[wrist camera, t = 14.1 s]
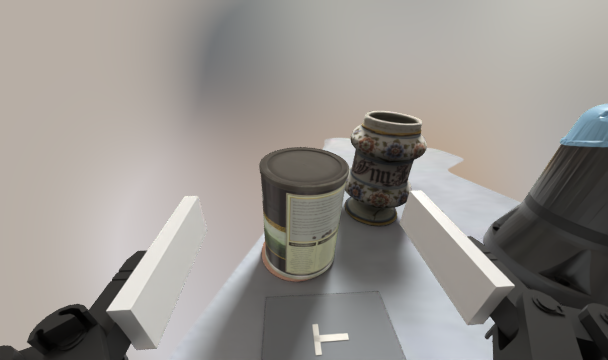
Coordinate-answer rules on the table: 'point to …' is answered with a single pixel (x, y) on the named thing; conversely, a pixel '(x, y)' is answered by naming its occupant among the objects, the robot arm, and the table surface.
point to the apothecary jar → (382, 166)
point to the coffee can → (302, 209)
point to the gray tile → (329, 328)
